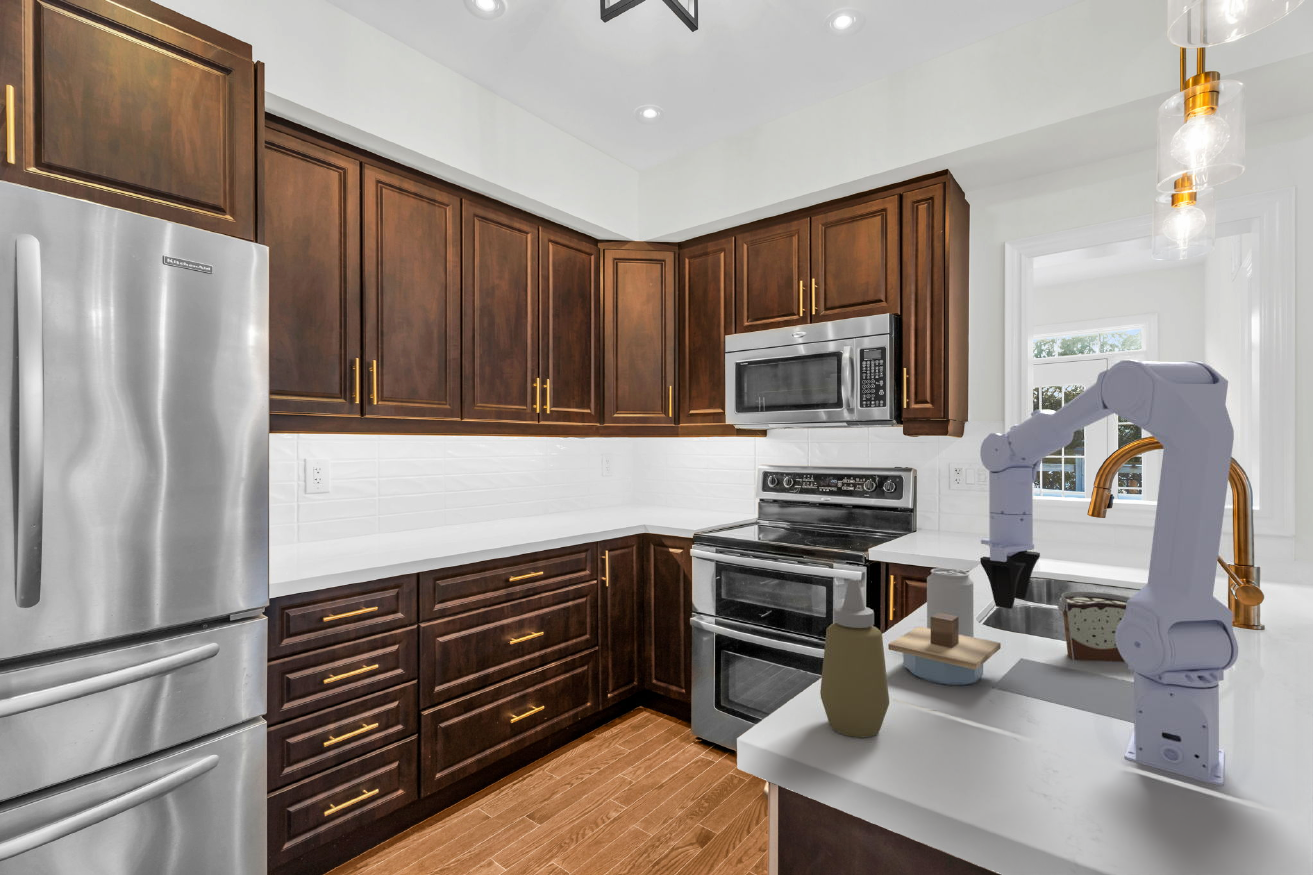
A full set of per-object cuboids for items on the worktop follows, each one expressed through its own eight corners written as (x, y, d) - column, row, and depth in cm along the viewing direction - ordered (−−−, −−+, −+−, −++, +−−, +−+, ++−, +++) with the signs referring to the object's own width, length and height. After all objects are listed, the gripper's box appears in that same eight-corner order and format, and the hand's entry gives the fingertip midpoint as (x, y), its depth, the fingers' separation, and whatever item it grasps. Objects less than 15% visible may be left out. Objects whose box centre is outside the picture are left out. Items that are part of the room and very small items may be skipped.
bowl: (967, 694, 85) (967, 665, 85) (895, 675, 92) (895, 648, 92) (989, 674, 92) (989, 647, 92) (920, 658, 99) (920, 633, 99)
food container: (1120, 651, 102) (1120, 591, 102) (1146, 665, 96) (1146, 601, 96) (1042, 649, 104) (1042, 589, 104) (1062, 662, 98) (1062, 599, 98)
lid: (976, 669, 83) (975, 634, 83) (888, 649, 92) (888, 616, 92) (1000, 648, 92) (1000, 616, 92) (918, 631, 100) (918, 601, 100)
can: (917, 634, 112) (917, 567, 112) (951, 630, 114) (951, 565, 114) (948, 647, 105) (948, 576, 105) (983, 642, 107) (983, 573, 107)
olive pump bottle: (859, 708, 80) (858, 570, 81) (904, 736, 73) (904, 583, 73) (806, 719, 77) (806, 575, 78) (848, 748, 70) (848, 589, 70)
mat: (1136, 726, 76) (1136, 722, 76) (992, 690, 86) (992, 687, 86) (1149, 688, 87) (1149, 685, 87) (1021, 660, 98) (1021, 658, 98)
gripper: (995, 507, 102) (995, 589, 102) (967, 514, 91) (967, 606, 91) (1044, 510, 97) (1044, 596, 97) (1021, 518, 87) (1021, 615, 86)
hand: (1010, 602), depth 94 cm, fingers open, 7 cm apart
